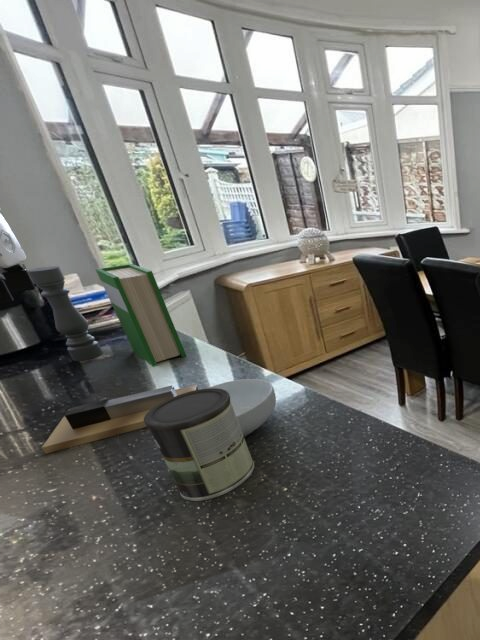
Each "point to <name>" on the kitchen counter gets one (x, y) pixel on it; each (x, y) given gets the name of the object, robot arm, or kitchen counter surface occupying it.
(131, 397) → the grey bar black end
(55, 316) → the candle holder
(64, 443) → the cutting board
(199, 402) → the coffee can
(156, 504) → the kitchen counter surface
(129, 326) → the hardback book
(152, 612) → the kitchen counter surface
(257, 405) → the cereal bowl
